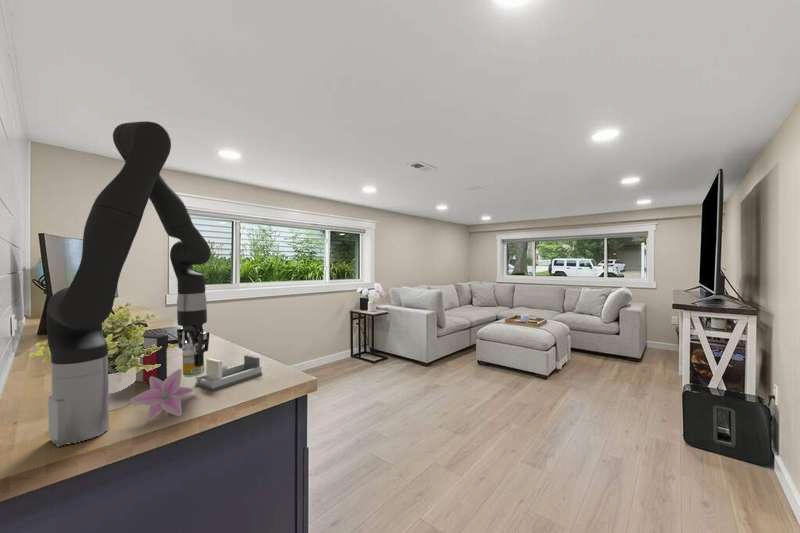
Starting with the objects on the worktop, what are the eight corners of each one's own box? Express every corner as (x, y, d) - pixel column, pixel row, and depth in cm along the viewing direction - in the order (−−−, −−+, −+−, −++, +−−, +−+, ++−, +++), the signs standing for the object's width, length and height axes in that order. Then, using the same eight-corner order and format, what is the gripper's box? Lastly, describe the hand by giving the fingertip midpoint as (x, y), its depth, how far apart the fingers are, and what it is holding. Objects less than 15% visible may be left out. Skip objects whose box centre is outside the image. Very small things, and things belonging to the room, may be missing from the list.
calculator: (129, 382, 109) (128, 335, 109) (142, 377, 113) (141, 333, 113) (156, 385, 106) (156, 337, 106) (169, 380, 111) (168, 334, 110)
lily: (123, 423, 83) (123, 396, 80) (155, 388, 94) (157, 362, 90) (173, 435, 85) (175, 409, 81) (199, 400, 96) (202, 374, 92)
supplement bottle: (191, 371, 104) (191, 339, 104) (208, 371, 104) (207, 340, 103) (178, 377, 99) (177, 344, 99) (195, 377, 98) (194, 344, 98)
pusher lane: (213, 390, 102) (213, 372, 102) (195, 384, 107) (195, 367, 107) (262, 374, 116) (262, 358, 116) (244, 369, 121) (244, 354, 121)
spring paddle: (218, 384, 105) (218, 361, 105) (206, 380, 108) (206, 358, 108) (231, 380, 108) (230, 358, 108) (219, 376, 112) (219, 355, 112)
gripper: (218, 308, 100) (219, 364, 101) (192, 305, 108) (193, 357, 108) (191, 311, 94) (193, 372, 94) (166, 308, 101) (167, 364, 102)
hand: (193, 364), depth 101 cm, fingers closed on supplement bottle, 5 cm apart
